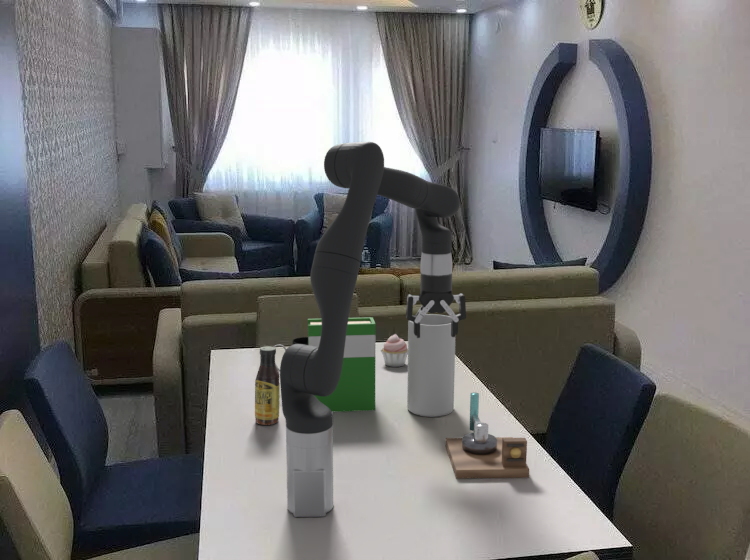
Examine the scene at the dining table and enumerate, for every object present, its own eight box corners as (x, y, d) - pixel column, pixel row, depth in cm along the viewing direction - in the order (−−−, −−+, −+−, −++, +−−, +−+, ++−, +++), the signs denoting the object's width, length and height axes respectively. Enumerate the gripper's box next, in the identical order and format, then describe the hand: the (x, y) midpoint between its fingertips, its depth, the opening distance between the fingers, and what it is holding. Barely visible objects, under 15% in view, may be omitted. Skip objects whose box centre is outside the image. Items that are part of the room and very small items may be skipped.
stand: (529, 478, 173) (530, 443, 171) (456, 479, 172) (457, 444, 171) (511, 445, 191) (513, 413, 190) (445, 445, 191) (446, 414, 189)
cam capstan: (499, 454, 180) (501, 412, 178) (464, 454, 180) (465, 412, 178) (489, 431, 193) (490, 392, 192) (456, 431, 193) (457, 392, 191)
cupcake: (414, 363, 257) (415, 333, 256) (400, 370, 250) (400, 339, 248) (390, 358, 262) (390, 329, 260) (375, 365, 255) (375, 335, 253)
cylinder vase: (425, 398, 224) (426, 312, 219) (462, 408, 216) (464, 319, 211) (398, 410, 214) (398, 320, 209) (436, 421, 206) (437, 327, 202)
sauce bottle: (250, 423, 204) (248, 349, 201) (264, 416, 210) (262, 343, 206) (271, 428, 201) (269, 352, 198) (285, 420, 207) (283, 346, 203)
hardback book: (309, 412, 213) (308, 325, 208) (308, 403, 220) (307, 318, 215) (375, 410, 214) (375, 323, 210) (372, 401, 222) (372, 317, 217)
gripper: (408, 274, 185) (408, 341, 189) (468, 273, 186) (467, 340, 190) (404, 268, 193) (404, 333, 196) (463, 267, 194) (462, 332, 197)
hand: (435, 336), depth 193 cm, fingers open, 8 cm apart
